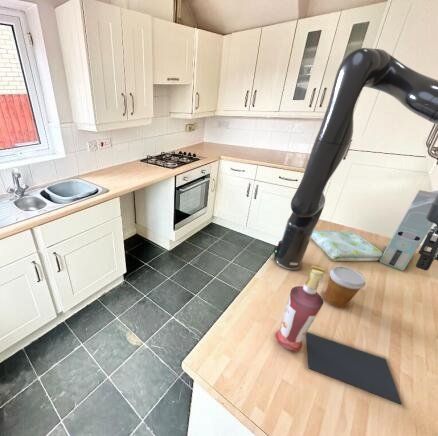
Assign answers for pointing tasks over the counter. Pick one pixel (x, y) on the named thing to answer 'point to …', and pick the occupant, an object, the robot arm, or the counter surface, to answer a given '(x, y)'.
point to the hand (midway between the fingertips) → (427, 263)
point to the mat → (351, 366)
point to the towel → (346, 246)
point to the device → (409, 232)
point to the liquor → (300, 311)
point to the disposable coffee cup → (343, 285)
